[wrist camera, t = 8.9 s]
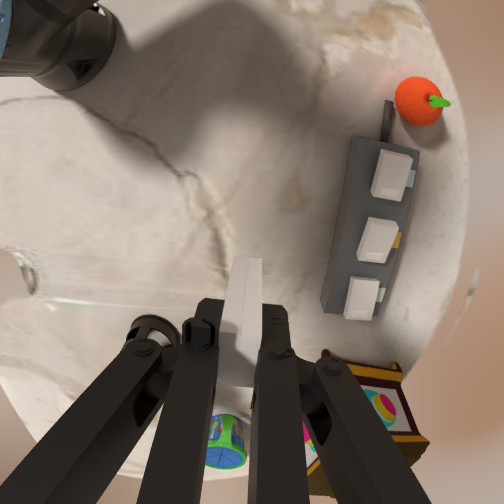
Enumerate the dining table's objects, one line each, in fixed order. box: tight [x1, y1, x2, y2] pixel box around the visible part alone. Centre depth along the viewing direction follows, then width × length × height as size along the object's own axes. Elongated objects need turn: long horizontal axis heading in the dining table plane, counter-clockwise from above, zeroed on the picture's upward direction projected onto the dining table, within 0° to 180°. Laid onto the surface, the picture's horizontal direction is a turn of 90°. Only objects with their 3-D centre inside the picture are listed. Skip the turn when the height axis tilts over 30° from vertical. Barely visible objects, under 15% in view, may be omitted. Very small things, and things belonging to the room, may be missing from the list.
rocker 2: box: [356, 217, 399, 263], centre depth 41 cm, size 6×4×2 cm, turn 174°
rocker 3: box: [343, 276, 380, 321], centre depth 45 cm, size 6×4×2 cm, turn 174°
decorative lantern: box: [303, 349, 430, 498], centre depth 46 cm, size 20×20×30 cm
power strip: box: [320, 100, 420, 316], centre depth 44 cm, size 32×9×4 cm, turn 174°
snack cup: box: [205, 414, 247, 469], centre depth 61 cm, size 16×10×10 cm
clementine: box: [395, 77, 450, 126], centre depth 36 cm, size 8×7×7 cm
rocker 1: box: [370, 149, 413, 201], centre depth 38 cm, size 6×4×2 cm, turn 174°
